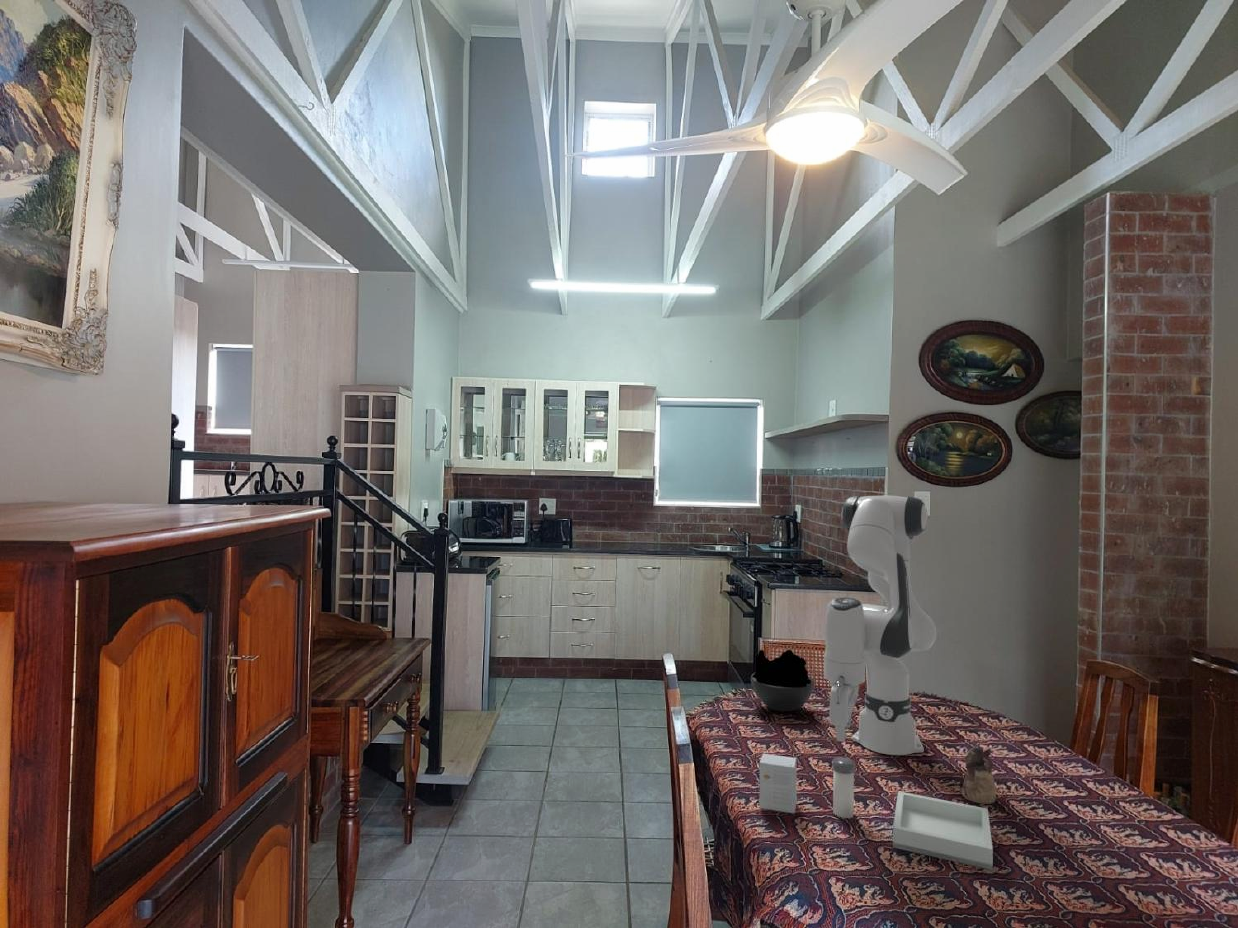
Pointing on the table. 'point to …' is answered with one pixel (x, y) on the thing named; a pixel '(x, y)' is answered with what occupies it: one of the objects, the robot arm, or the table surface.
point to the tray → (943, 830)
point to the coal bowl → (782, 681)
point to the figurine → (979, 777)
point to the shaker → (843, 787)
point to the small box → (778, 783)
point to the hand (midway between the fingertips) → (843, 733)
